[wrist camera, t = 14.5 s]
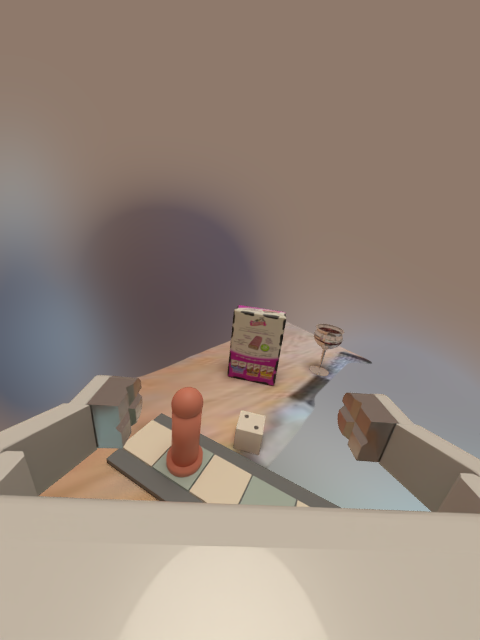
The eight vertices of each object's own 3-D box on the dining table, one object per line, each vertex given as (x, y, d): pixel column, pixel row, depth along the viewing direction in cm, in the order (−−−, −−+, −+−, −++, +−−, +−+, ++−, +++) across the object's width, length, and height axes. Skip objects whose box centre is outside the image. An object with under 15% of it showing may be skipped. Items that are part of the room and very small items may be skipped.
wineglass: (319, 362, 64) (329, 323, 60) (338, 375, 59) (350, 333, 55) (300, 365, 62) (310, 324, 58) (318, 379, 56) (330, 335, 52)
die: (238, 428, 39) (241, 409, 37) (261, 434, 38) (265, 415, 37) (233, 448, 35) (236, 428, 34) (258, 455, 34) (262, 434, 33)
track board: (161, 416, 39) (161, 411, 39) (347, 515, 28) (349, 510, 27) (107, 462, 31) (106, 457, 30) (343, 633, 19) (347, 628, 19)
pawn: (182, 439, 34) (185, 374, 30) (209, 454, 32) (215, 387, 28) (158, 465, 30) (158, 393, 26) (187, 484, 28) (191, 410, 24)
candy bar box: (275, 374, 56) (287, 311, 50) (274, 386, 51) (287, 318, 46) (231, 365, 57) (238, 303, 52) (226, 376, 53) (233, 309, 47)
